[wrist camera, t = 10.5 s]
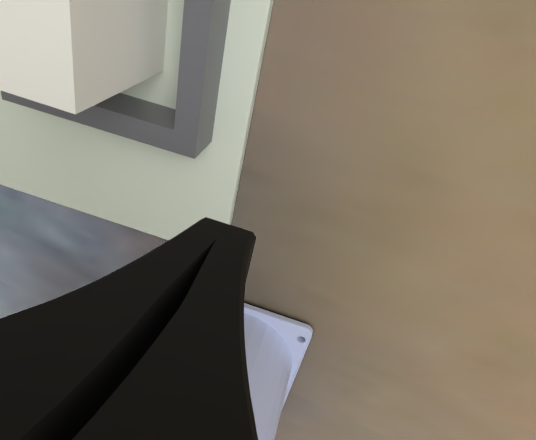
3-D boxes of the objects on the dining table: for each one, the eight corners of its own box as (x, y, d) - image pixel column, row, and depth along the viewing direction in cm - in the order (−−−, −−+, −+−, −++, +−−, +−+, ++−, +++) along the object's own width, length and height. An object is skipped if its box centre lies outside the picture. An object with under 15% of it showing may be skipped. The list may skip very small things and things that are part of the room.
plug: (163, 70, 18) (75, 114, 13) (78, 45, 18) (-39, 77, 13) (172, -56, 15) (65, -63, 10) (72, -84, 15) (-78, -103, 10)
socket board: (225, 252, 23) (209, 281, 21) (0, 178, 24) (-37, 198, 22) (294, -111, 14) (277, -123, 12) (-74, -200, 15) (-148, -225, 13)
